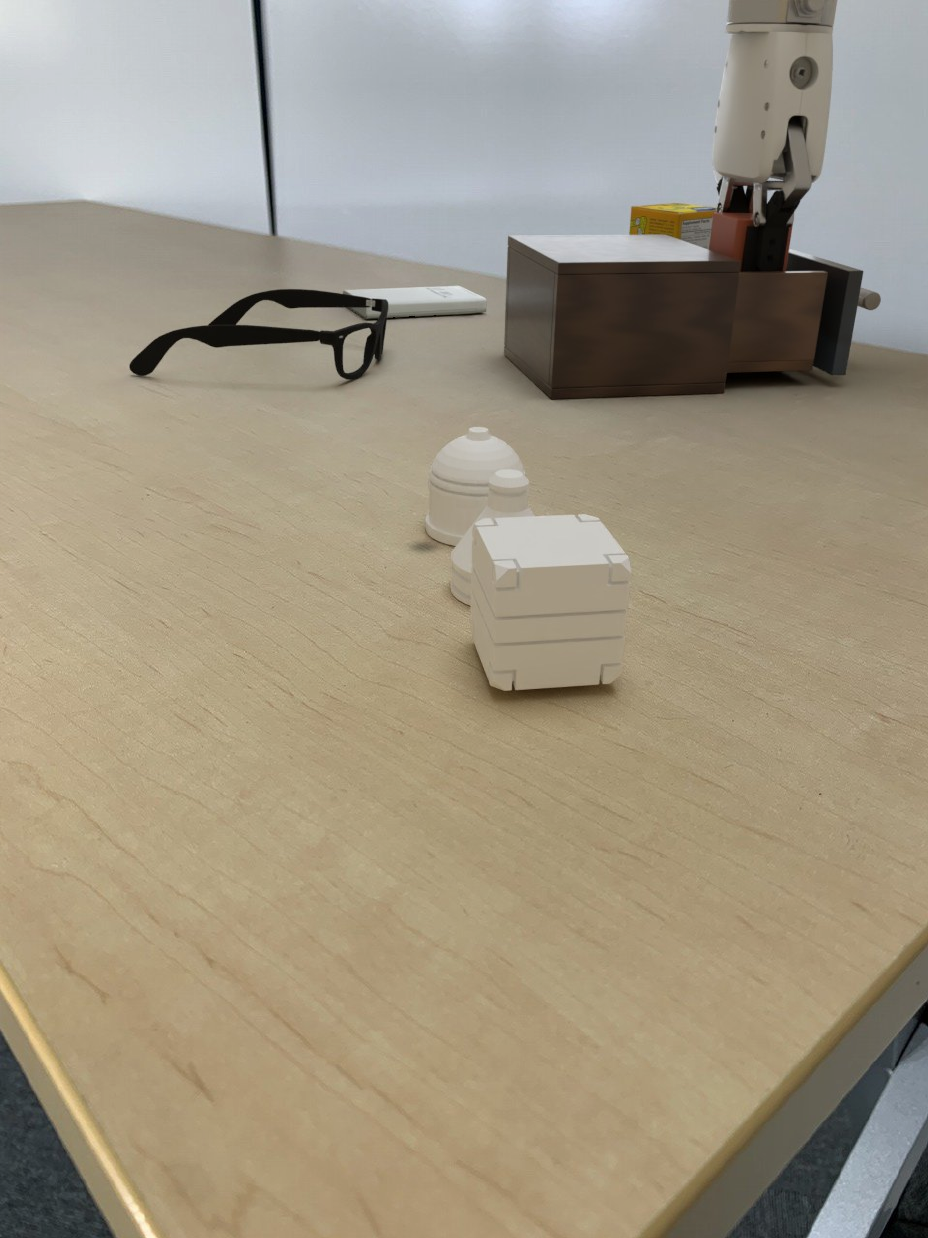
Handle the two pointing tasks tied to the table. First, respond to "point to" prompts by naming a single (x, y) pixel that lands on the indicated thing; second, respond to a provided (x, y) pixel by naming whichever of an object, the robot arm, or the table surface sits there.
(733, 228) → the block
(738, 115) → the robot arm
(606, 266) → the cabinet
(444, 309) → the hard drive
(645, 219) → the supplement box
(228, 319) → the glasses
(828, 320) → the drawer
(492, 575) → the container set
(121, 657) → the table surface
